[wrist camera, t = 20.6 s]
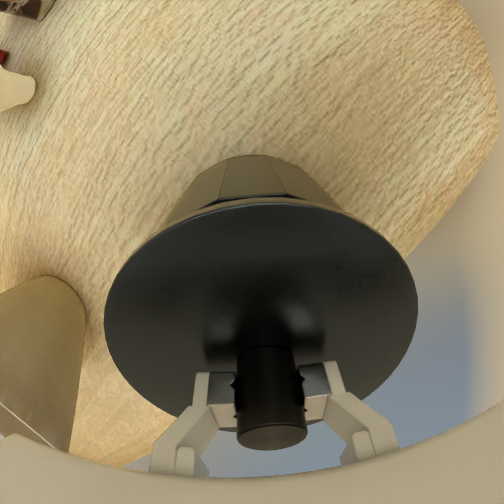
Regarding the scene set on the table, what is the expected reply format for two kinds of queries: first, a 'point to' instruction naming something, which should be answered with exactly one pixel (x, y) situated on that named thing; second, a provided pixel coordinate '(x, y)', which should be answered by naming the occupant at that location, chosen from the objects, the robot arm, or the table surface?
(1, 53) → the toy fire truck
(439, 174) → the table surface
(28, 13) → the coffee box
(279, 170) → the bin
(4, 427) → the plant pot
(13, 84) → the lightbulb
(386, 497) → the robot arm
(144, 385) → the bin lid
